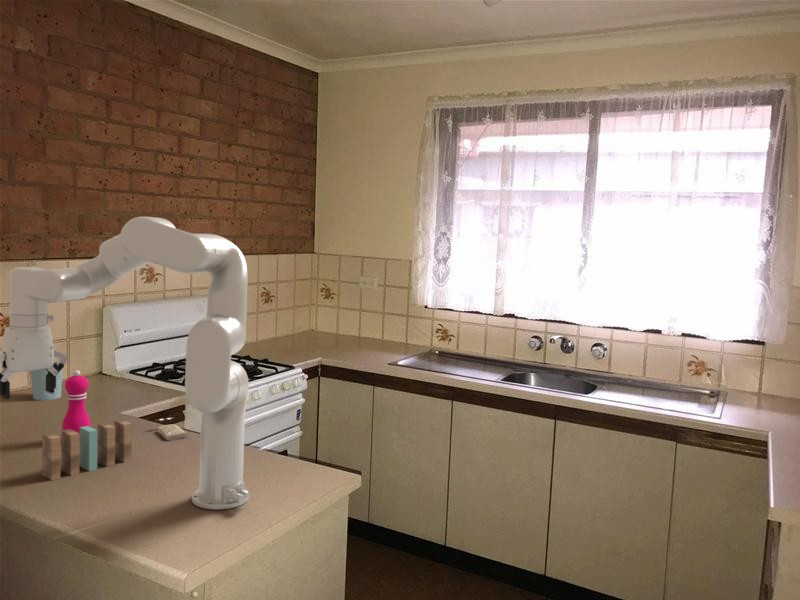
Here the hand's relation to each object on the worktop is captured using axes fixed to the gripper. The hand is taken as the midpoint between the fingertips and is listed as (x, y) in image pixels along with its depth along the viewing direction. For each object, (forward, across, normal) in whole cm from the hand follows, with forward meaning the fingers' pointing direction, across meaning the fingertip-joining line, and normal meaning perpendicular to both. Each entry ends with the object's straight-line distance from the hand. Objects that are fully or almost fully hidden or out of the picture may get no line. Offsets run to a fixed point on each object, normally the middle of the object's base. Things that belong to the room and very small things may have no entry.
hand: (28, 394), depth 154 cm
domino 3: (+21, -14, 0) cm, 25 cm away
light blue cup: (+21, -34, -74) cm, 85 cm away
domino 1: (+21, -5, 0) cm, 21 cm away
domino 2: (+21, -10, 0) cm, 23 cm away
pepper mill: (+21, -22, -23) cm, 38 cm away
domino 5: (+21, -23, 0) cm, 31 cm away
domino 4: (+21, -19, 0) cm, 28 cm away
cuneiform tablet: (+19, -45, -16) cm, 51 cm away
